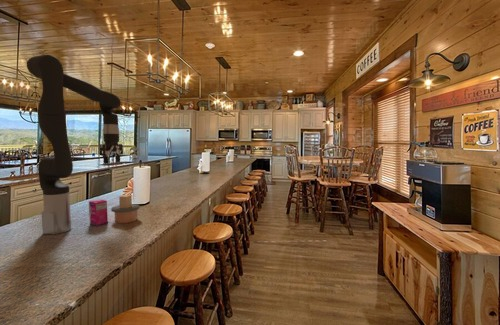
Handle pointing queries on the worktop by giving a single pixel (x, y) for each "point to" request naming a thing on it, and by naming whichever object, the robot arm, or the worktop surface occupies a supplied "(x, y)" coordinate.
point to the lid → (125, 204)
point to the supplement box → (98, 212)
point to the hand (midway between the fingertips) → (112, 163)
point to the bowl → (125, 216)
